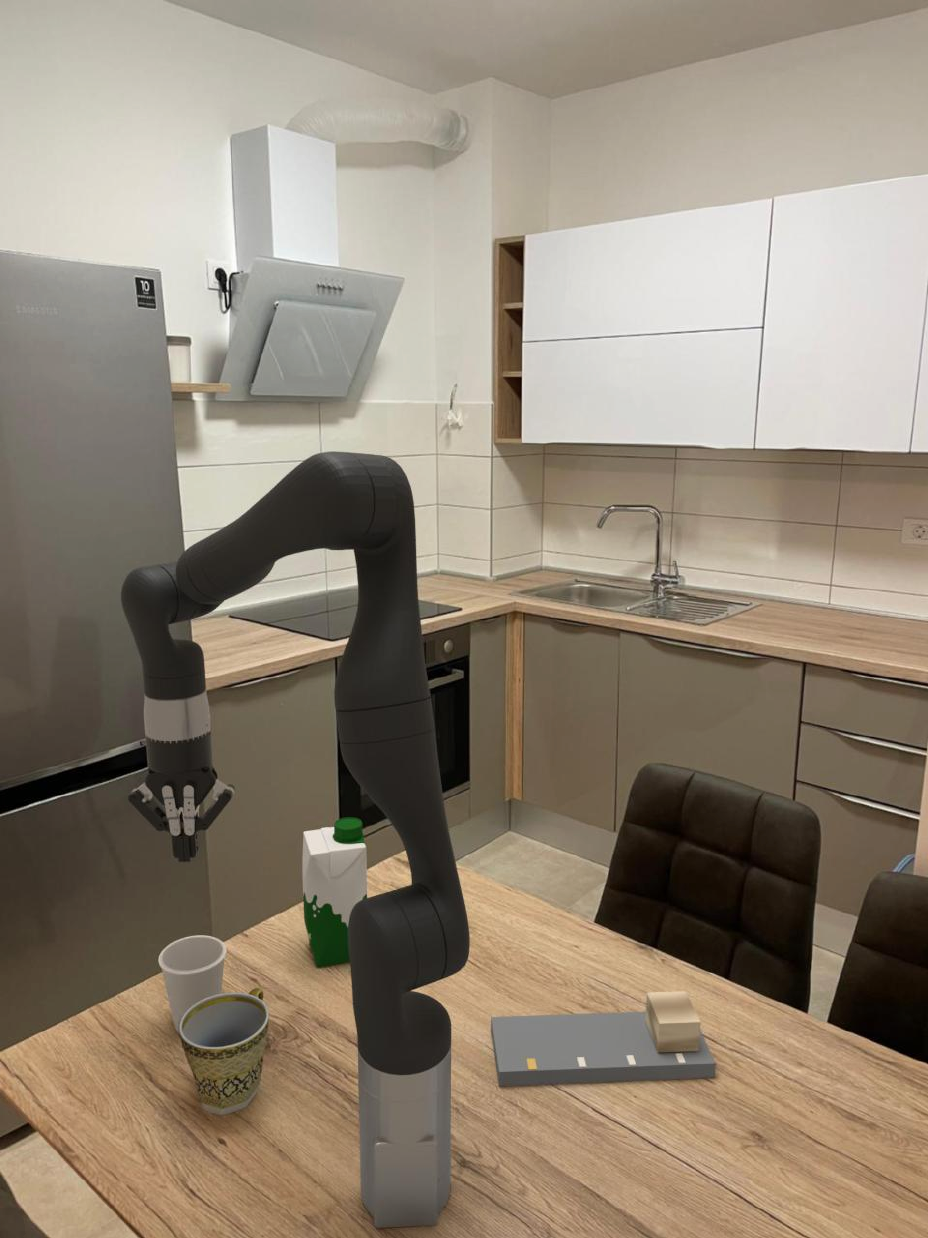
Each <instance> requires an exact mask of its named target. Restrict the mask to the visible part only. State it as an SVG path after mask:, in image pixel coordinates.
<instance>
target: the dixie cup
mask: <svg viewBox="0 0 928 1238" xmlns="http://www.w3.org/2000/svg"><path fill="white" fill-rule="evenodd" d="M227 950H228V949H227V946H226V944H225V943H224V942H223V941H222V940H221V939H219V938H217V937H214V936H211V935H201V934H199V935H190V936H186V937H182V938H180V939H177V940H175V941H173V942H171V943H169V944H168V945H167V946H165V948H163V950H161V952H160V954H159V956H158V964H159V967H160V968H161V972H162V976H163V980H164V986H165V989H166V994H167V999H168V1003H169V1008H170V1013H171V1017H172V1020H173V1021H172V1022H173V1025H174V1029H175V1031H176V1032H177V1033H179V1030H178V1026H179V1022H180V1019H181V1017H182V1016H183V1014H184V1013H185V1012H186V1011H187V1010H188V1009H189V1008H190V1007H191V1006H193V1005H194V1004H196V1003H197V1002H199V1001H201V1000H203V999H205V998H208V997H210V996H213V995H217V994H222V991H223V980H224V979H223V978H224V966H225V958H226V955H227Z"/></svg>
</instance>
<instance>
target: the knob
mask: <svg viewBox="0 0 928 1238" xmlns="http://www.w3.org/2000/svg"><path fill="white" fill-rule="evenodd" d="M645 999H646V1000H645V1001H646V1002H645V1004H646V1005H645V1011H646V1015H645V1021H646V1024H647V1026H648V1029H649V1031H650V1034H651V1036H652V1039H653V1041H654V1044H655V1046H656V1049H657V1052H683V1051H698V1050H699V1036H700V1031H701V1020H700V1018H699V1015H698V1014H697V1011H696V1010H695V1008H694V1006H693V1003H692V1001H691V999H690V997H689V995H688V993H687V991H685V990H684V991H683V990H681V991H679V990H678V991H656V992H654V991H651V992H646V998H645Z"/></svg>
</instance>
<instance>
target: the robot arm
mask: <svg viewBox="0 0 928 1238" xmlns="http://www.w3.org/2000/svg"><path fill="white" fill-rule="evenodd" d="M415 514H416V513H415V502H414V496H413V491H412V487H411V485H410V481H409V478H408V476H407V474H406V473H405V471H404V469H403V468H402V466H401V465H400V464H399V463H398V462H396V460H394V459H393V458H391V457H389V456H386V455H381V454H373V453H362V452H361V453H360V452H350V451H349V452H347V451H335V450H334V451H324V452H319V453H315V454H313V455H311V456H309V457H308V458H306V459H304V460H303V461H302V462H300V463H298V465H296V466H295V467H294V468H293V469H292V470H290V471H289V472H288V473H287V474H286V475H284V477H283V478H282V479H280V481H279V482H277V483H276V484H275V485H274V487H272V488H271V489H270V490H269V491H268V492H266V493H265V495H264V496H262V497H261V498H260V499H259V500H257V502H255V504H253V505H252V506H251V507H250V508H249V509H248V510H246V511H245V512H244V513H243V514H242V515H240V516H239V517H238V518H236V519H235V520H234V521H232V522H231V523H229V524H227V525H226V526H224V527H222V528H220V529H218V530H217V531H215V532H213V533H211V534H210V535H208V536H206V537H205V538H203V539H201V540H199V541H197V542H195V543H194V544H192V545H191V546H188V548H187V549H185V550H184V551H183V552H182V553H181V555H180V557H178V560H177V561H173V562H166V563H160V564H154V565H147V566H140V567H137V568H134V569H132V570H131V571H130V572H129V573H127V575H126V577H125V579H124V581H123V584H122V586H121V591H120V602H121V607H122V610H123V611H122V612H123V613H124V616H125V618H126V621H127V623H128V626H129V628H130V632H131V633H132V636H133V639H134V642H135V645H136V648H137V651H138V654H139V656H140V660H141V664H142V675H143V676H142V677H143V690H144V704H143V721H144V733H145V748H146V760H147V761H146V763H147V773H146V775H145V777H144V782H143V783H142V784H141V785H137V786H135V787H134V788H133V790H132V791H131V792H130V794H129V795H128V797H127V800H128V802H129V803H130V804H131V805H132V806H133V807H134V809H136V810H137V811H138V812H139V813H140V814H141V815H142V817H144V818H145V819H146V820H147V822H148V823H149V824H150V825H151V826H152V827H154V828H155V830H156V831H158V832H163V831H165V832H168V833H169V834H170V836H171V844H172V846H171V847H172V854H173V857H174V858H175V859H178V863H191V862H192V861H193V859H194V858H196V856H197V855H198V851H199V849H200V848H199V831H207V830H208V829H209V828H210V827H211V825H213V823H214V822H215V820H216V819H217V817H219V815H220V814H221V813H222V812H223V811H224V809H225V808H226V806H227V805H228V804H229V803H230V801H231V800H232V798H233V796H234V794H235V791H236V788H235V785H233V784H226V783H224V782H222V781H221V780H219V779H218V773H217V771H216V769H215V768H214V766H213V749H212V734H211V733H212V732H211V730H212V729H211V724H212V718H211V714H210V705H209V700H208V696H207V695H208V694H207V685H206V684H207V683H206V668H205V657H204V651H203V649H202V646H201V645H200V644H199V643H197V642H195V641H192V640H189V639H178V638H177V639H175V638H174V639H173V637H172V634H171V631H170V628H169V625H172V624H178V623H183V622H186V621H190V620H194V619H199V618H202V617H204V616H206V615H208V614H210V613H212V612H214V611H216V609H218V607H220V606H221V605H222V604H223V603H224V601H228V599H231V598H234V597H236V596H237V595H240V594H242V593H243V592H246V591H248V590H250V589H252V588H253V587H255V586H257V585H258V584H260V583H261V582H263V580H264V579H266V577H268V575H269V574H270V573H271V571H272V569H273V568H274V566H275V563H276V562H277V561H279V560H281V559H283V558H285V557H288V556H291V555H295V554H299V553H305V552H309V551H314V550H320V549H321V550H322V549H326V550H329V551H346V550H347V551H349V550H353V554H354V560H355V567H356V577H357V587H358V588H357V590H358V592H357V593H358V594H357V595H358V596H357V597H358V599H357V607H356V614H355V618H354V622H353V624H352V628H351V630H350V634H349V637H348V640H347V643H346V645H345V648H344V651H343V654H342V656H341V660H340V663H339V667H338V669H337V673H336V678H335V682H334V690H333V691H334V692H333V695H334V696H333V697H334V699H333V700H334V708H335V715H336V722H337V723H336V725H337V731H338V740H339V746H340V754H341V757H342V760H343V762H344V765H345V767H346V768H347V769H348V771H349V773H350V775H351V776H352V777H353V779H354V780H355V781H356V783H358V785H359V787H360V788H361V789H362V790H363V792H365V793H366V795H367V796H368V797H369V798H370V799H371V800H372V801H373V804H375V805H376V806H377V807H378V808H379V810H380V811H381V812H382V813H383V814H384V816H385V817H386V818H387V819H388V821H389V822H390V824H391V825H392V827H393V828H394V830H395V831H396V833H397V834H398V836H399V838H400V840H401V842H402V844H403V847H404V850H405V853H406V857H407V861H408V864H409V865H408V866H409V870H410V879H411V883H410V885H406V886H402V887H399V888H396V889H393V890H390V891H385V892H383V893H379V894H376V895H372V896H370V897H367V898H366V899H363V900H361V901H359V902H358V903H356V904H355V906H354V907H353V909H352V911H351V913H350V917H349V922H348V948H349V959H350V962H349V966H350V978H351V996H352V998H351V999H352V1011H353V1017H354V1022H355V1028H356V1036H357V1037H356V1040H357V1041H356V1042H357V1080H358V1083H357V1084H358V1086H357V1087H358V1089H357V1090H358V1092H357V1093H358V1127H359V1131H358V1132H359V1137H358V1138H359V1164H360V1167H359V1168H360V1169H359V1170H360V1196H361V1201H362V1203H363V1205H364V1207H365V1209H366V1210H367V1211H368V1212H369V1214H370V1215H371V1216H372V1217H373V1223H374V1224H373V1225H374V1227H375V1228H377V1229H378V1228H397V1227H398V1228H401V1227H415V1226H416V1227H417V1226H436V1225H437V1224H438V1223H439V1222H438V1221H439V1220H438V1219H439V1218H438V1216H439V1214H440V1212H441V1211H442V1210H443V1208H445V1206H446V1205H447V1203H448V1201H449V1198H450V1195H451V1190H452V1187H451V1186H452V1184H451V1183H452V1181H451V1180H452V1177H451V1176H452V1175H451V1173H452V1172H451V1171H452V1167H451V1166H452V1163H451V1162H452V1160H451V1158H452V1151H451V1150H452V1148H451V1147H452V1146H451V1145H452V1144H451V1143H452V1138H451V1137H452V1136H451V1135H452V1134H451V1133H452V1132H451V1131H452V1130H451V1129H452V1022H451V1021H452V1020H451V1017H450V1014H449V1012H448V1011H447V1009H446V1007H445V1006H444V1005H443V1004H442V1003H441V1002H439V1000H437V999H436V998H434V997H432V996H430V995H428V994H426V993H422V992H419V991H414V990H416V989H420V988H422V987H425V986H428V985H430V984H434V983H436V982H437V981H442V980H444V979H446V978H448V977H451V976H453V975H455V974H457V973H459V972H460V971H462V969H464V968H465V966H466V965H467V962H468V959H469V955H470V946H471V944H470V943H471V941H470V926H469V920H468V919H469V918H468V915H467V914H468V913H467V908H466V904H465V899H464V894H463V890H462V885H461V881H460V877H459V876H460V875H459V873H458V872H459V871H458V868H457V862H456V858H455V855H454V854H455V853H454V849H453V846H452V845H453V844H452V839H451V836H450V831H449V826H448V819H447V815H446V814H447V813H446V808H445V801H444V795H443V788H442V787H443V786H442V780H441V771H440V764H439V756H438V745H437V736H436V726H435V719H434V718H435V717H434V712H433V704H432V697H431V690H430V685H429V680H428V679H429V678H428V673H427V666H426V659H425V658H426V657H425V650H424V641H423V640H424V639H423V629H422V621H421V614H420V613H421V611H420V604H419V601H420V600H419V590H418V588H419V587H418V586H419V585H418V567H417V565H418V564H417V562H418V560H417V535H416V534H417V529H416V515H415ZM212 789H213V794H212V799H213V800H214V801H213V802H212V804H211V805H210V806H209V807H208V808H207V810H206V811H205V812H204V814H203V815H199V814H200V811H199V810H200V805H201V804H202V803H203V801H204V800H205V799H206V798H207V796H208V795H209V794H210V792H211V790H212ZM153 796H154V797H155V798H156V799H157V800H158V802H160V803H161V805H162V806H164V808H165V810H164V809H163V808H162V807H161V805H160V804H159V803H158V802H157V801H155V799H154V798H153Z"/></svg>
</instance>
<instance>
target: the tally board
mask: <svg viewBox="0 0 928 1238" xmlns="http://www.w3.org/2000/svg"><path fill="white" fill-rule="evenodd" d="M645 1015H646V1010H645V1011H624V1012H623V1011H622V1012H621V1011H620V1012H598V1013H597V1012H595V1013H593V1012H592V1013H569V1014H568V1013H567V1014H565V1013H564V1014H540V1015H539V1014H537V1015H536V1014H535V1015H511V1016H490V1033H491V1034H490V1035H491V1040H492V1047H493V1055H494V1062H495V1068H496V1076H497V1083H498V1087H500V1088H501V1087H517V1086H518V1087H520V1086H521V1087H522V1086H525V1087H526V1086H545V1085H546V1086H547V1085H570V1084H573V1085H575V1084H590V1083H591V1084H592V1083H593V1084H594V1083H596V1084H597V1083H618V1082H620V1083H621V1082H638V1081H639V1082H643V1081H666V1080H667V1081H668V1080H690V1079H691V1080H693V1079H714V1078H716V1069H717V1068H716V1067H717V1065H716V1064H717V1063H716V1061H715V1058H714V1057H713V1056H714V1055H713V1054H712V1052H711V1050H710V1048H709V1046H708V1044H707V1042H706V1040H705V1037H704V1035H703V1033H702V1031H701V1030H700V1036H699V1050H698V1051H683V1052H657V1049H656V1046H655V1044H654V1041H653V1039H652V1036H651V1034H650V1031H649V1029H648V1026H647V1024H646V1021H645Z"/></svg>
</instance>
